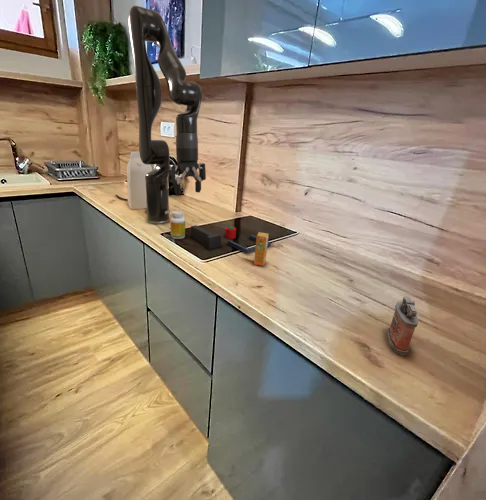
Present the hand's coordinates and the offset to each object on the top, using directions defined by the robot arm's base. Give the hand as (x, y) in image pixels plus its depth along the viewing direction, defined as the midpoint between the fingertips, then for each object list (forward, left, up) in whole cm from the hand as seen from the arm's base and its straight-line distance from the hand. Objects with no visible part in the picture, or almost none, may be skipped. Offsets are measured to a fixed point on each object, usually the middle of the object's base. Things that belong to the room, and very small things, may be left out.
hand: (188, 193), depth 111 cm
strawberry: (+10, +13, -16) cm, 23 cm away
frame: (+20, +13, -16) cm, 29 cm away
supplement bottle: (-1, -4, -17) cm, 17 cm away
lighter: (+77, +2, -17) cm, 79 cm away
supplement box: (+34, +5, -16) cm, 38 cm away
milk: (-49, +4, -17) cm, 52 cm away
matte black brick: (+9, +1, -16) cm, 19 cm away
